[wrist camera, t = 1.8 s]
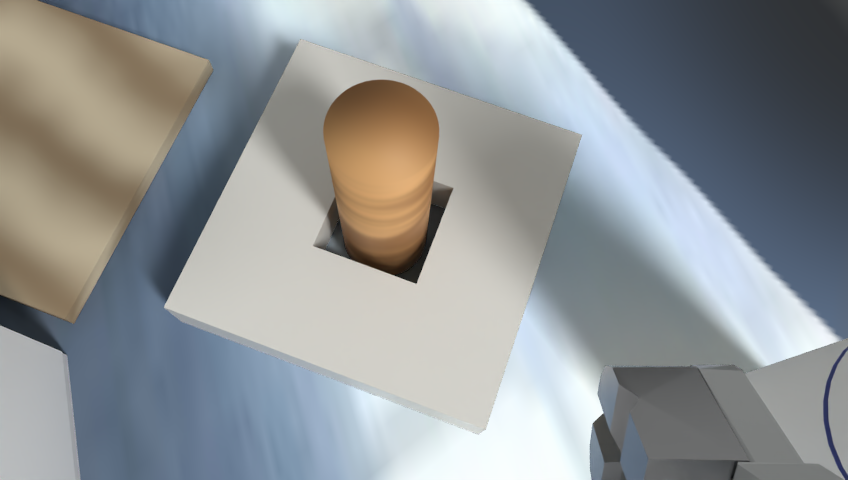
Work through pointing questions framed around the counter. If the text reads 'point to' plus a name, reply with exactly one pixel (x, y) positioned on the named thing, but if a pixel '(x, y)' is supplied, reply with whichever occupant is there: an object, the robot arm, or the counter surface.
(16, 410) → the butter dish
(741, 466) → the robot arm
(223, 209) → the socket block
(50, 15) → the board
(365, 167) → the plug
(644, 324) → the counter surface
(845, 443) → the cylindrical container
